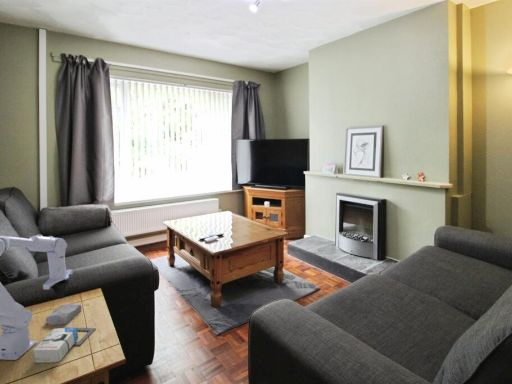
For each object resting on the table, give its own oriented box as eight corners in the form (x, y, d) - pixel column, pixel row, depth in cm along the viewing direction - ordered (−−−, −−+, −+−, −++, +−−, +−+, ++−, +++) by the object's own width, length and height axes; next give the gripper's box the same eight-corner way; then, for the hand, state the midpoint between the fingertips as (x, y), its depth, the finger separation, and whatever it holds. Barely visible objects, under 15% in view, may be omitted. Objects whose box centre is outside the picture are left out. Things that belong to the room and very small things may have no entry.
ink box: (77, 327, 112) (58, 349, 101) (78, 338, 113) (59, 362, 101) (53, 327, 112) (31, 350, 100) (55, 339, 113) (34, 363, 101)
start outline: (80, 345, 110) (80, 344, 110) (43, 344, 111) (43, 343, 111) (95, 329, 120) (95, 328, 120) (62, 328, 120) (61, 327, 120)
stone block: (44, 329, 123) (68, 324, 123) (41, 318, 122) (64, 313, 122) (62, 314, 135) (84, 310, 135) (59, 304, 134) (81, 300, 134)
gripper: (54, 274, 115) (57, 307, 117) (78, 259, 129) (81, 289, 131) (36, 273, 115) (40, 306, 117) (62, 259, 129) (65, 289, 131)
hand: (60, 297), depth 124 cm, fingers closed
